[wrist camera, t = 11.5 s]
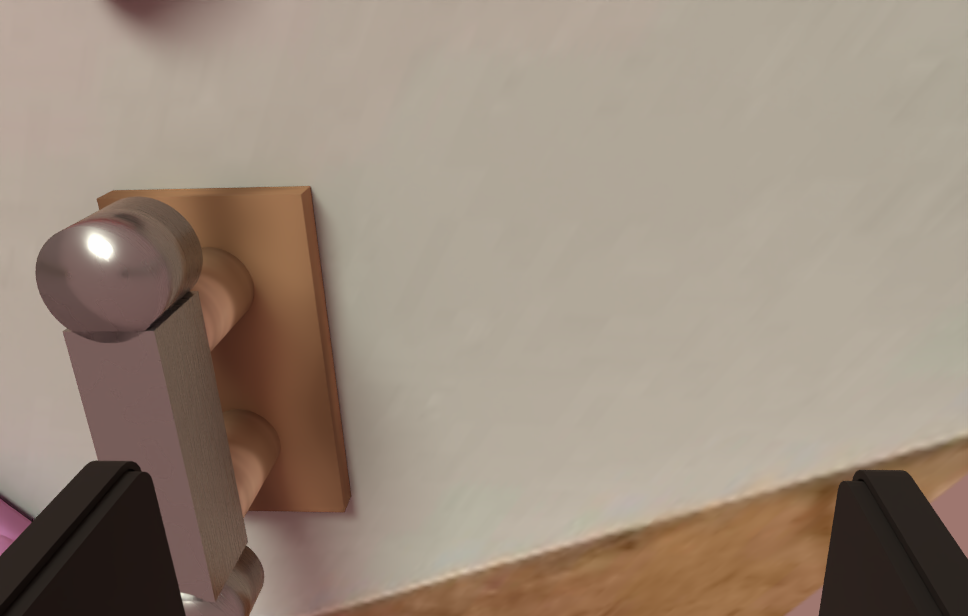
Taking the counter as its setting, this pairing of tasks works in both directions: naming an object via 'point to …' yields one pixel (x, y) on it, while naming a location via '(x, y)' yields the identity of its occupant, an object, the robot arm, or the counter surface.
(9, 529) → the teapot
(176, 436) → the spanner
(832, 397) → the counter surface
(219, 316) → the tool rest
